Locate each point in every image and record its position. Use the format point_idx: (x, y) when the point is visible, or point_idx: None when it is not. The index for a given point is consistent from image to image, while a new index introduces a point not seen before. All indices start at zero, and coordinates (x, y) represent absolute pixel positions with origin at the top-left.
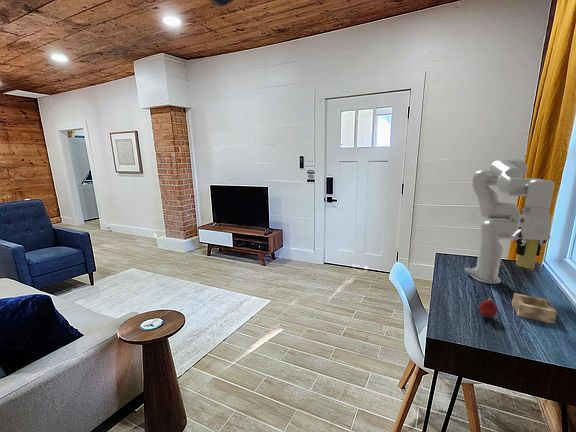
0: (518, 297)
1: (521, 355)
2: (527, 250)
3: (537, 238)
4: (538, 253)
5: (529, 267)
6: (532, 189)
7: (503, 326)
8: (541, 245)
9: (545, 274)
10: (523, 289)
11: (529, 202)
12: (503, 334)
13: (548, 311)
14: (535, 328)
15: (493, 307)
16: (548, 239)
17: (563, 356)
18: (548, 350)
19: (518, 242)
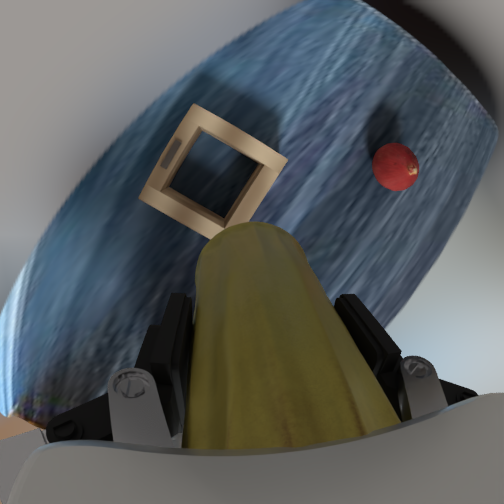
0: (244, 213)
1: (404, 35)
2: (340, 320)
3: (343, 471)
4: (181, 305)
5: (273, 226)
6: None
7: (369, 117)
8: (131, 381)
9: (21, 377)
10: (113, 323)
11: None
12: (393, 91)
13: (214, 115)
14: (285, 93)
15: (404, 148)
16: (15, 437)
17: (319, 5)
18: (336, 24)
19: (456, 385)
